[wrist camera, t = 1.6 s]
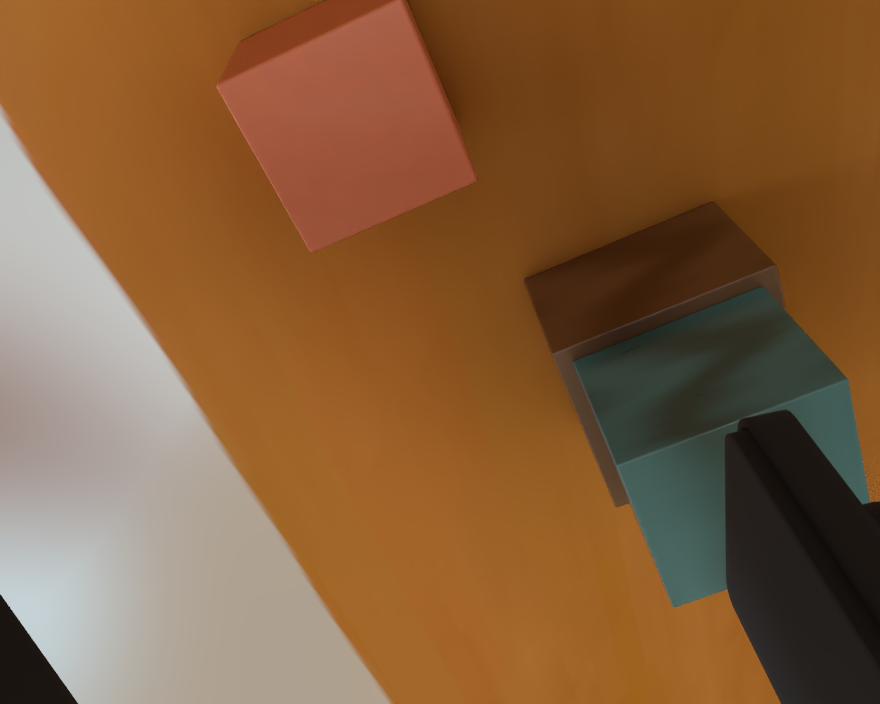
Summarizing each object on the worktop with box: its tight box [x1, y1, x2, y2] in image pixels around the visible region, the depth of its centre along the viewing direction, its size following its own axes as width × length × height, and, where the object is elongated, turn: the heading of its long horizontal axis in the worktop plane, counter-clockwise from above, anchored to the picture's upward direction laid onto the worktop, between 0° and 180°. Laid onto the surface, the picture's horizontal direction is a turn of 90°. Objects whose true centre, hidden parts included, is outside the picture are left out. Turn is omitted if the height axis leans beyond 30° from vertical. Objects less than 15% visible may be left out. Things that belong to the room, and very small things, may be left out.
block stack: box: [524, 202, 870, 607], centre depth 26 cm, size 7×7×10 cm
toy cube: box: [216, 0, 478, 253], centre depth 23 cm, size 5×5×5 cm
